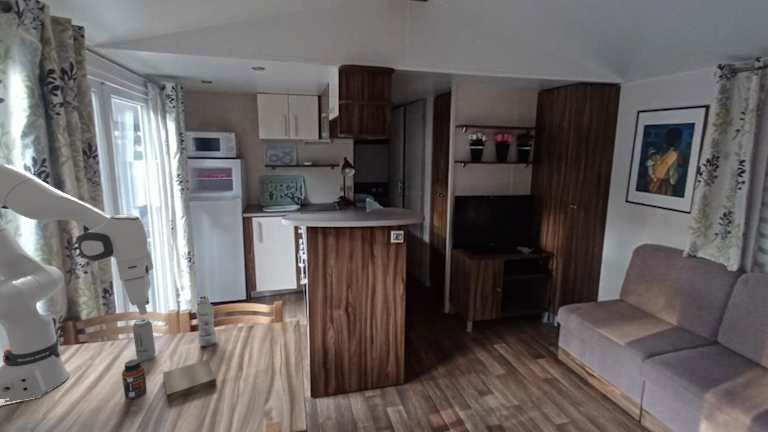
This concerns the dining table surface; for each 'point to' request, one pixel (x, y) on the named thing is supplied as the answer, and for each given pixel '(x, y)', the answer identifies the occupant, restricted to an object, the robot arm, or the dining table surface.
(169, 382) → the beige flat square block
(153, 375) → the dining table surface
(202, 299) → the plastic bottle
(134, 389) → the supplement bottle
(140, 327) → the energy drink can
